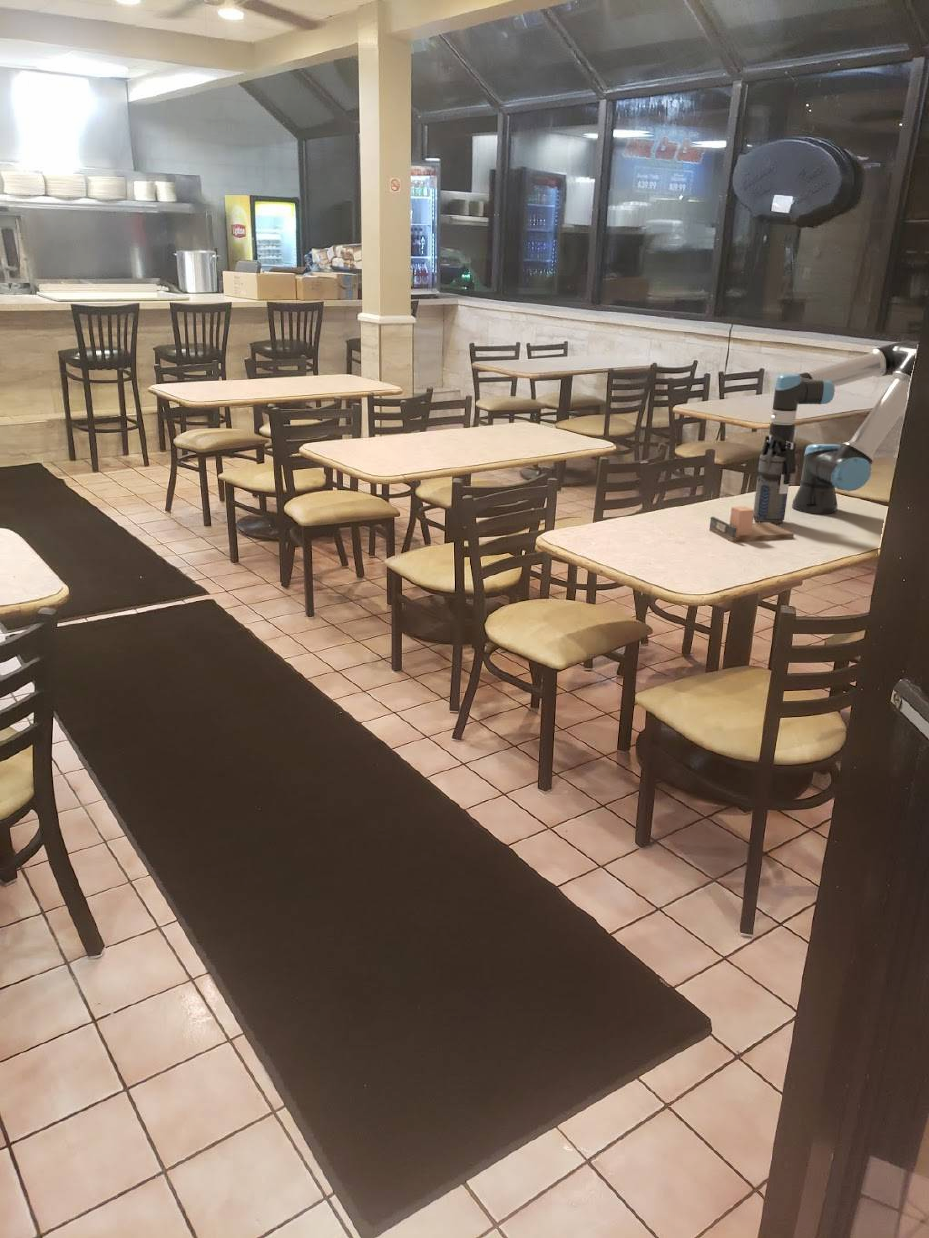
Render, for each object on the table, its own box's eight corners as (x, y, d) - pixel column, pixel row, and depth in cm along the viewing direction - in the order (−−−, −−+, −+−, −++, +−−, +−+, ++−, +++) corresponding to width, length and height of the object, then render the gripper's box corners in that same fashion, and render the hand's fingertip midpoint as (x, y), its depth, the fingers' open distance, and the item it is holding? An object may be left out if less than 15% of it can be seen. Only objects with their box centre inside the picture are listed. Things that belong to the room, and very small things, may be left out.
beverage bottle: (792, 520, 323) (801, 446, 315) (774, 527, 314) (784, 451, 305) (764, 515, 329) (772, 443, 321) (746, 521, 320) (754, 447, 312)
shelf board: (768, 526, 315) (770, 513, 314) (793, 538, 303) (795, 524, 301) (708, 530, 309) (710, 516, 308) (731, 542, 297) (732, 528, 295)
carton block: (742, 530, 304) (745, 506, 301) (751, 534, 300) (754, 510, 297) (728, 531, 303) (731, 507, 300) (737, 535, 298) (740, 510, 296)
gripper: (753, 417, 319) (745, 482, 327) (793, 429, 299) (783, 498, 306) (772, 417, 321) (764, 482, 329) (813, 428, 301) (803, 497, 308)
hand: (773, 489), depth 318 cm, fingers closed on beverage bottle, 10 cm apart
